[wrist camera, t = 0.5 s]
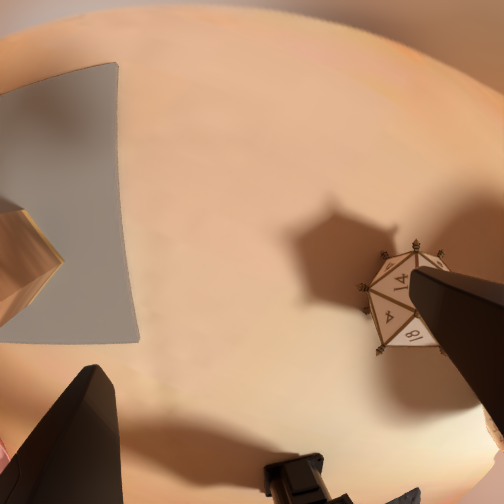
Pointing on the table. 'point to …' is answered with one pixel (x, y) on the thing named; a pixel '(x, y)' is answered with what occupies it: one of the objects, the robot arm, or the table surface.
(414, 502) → the dark slate chunk
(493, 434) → the chamber pot
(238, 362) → the table surface
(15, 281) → the walnut block
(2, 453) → the plate
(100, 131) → the rubber mat
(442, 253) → the game die
